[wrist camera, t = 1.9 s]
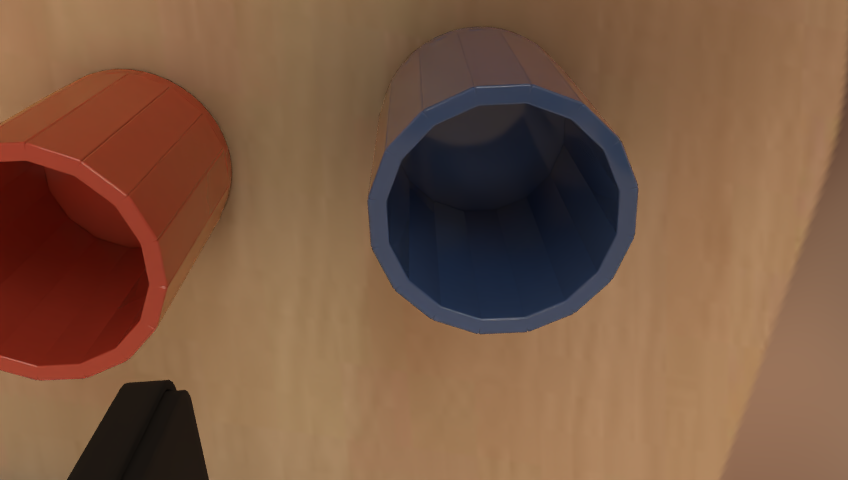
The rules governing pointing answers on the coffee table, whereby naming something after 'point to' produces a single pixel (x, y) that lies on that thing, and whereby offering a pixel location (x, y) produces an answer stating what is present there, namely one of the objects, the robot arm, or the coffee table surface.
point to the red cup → (101, 218)
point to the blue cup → (496, 185)
